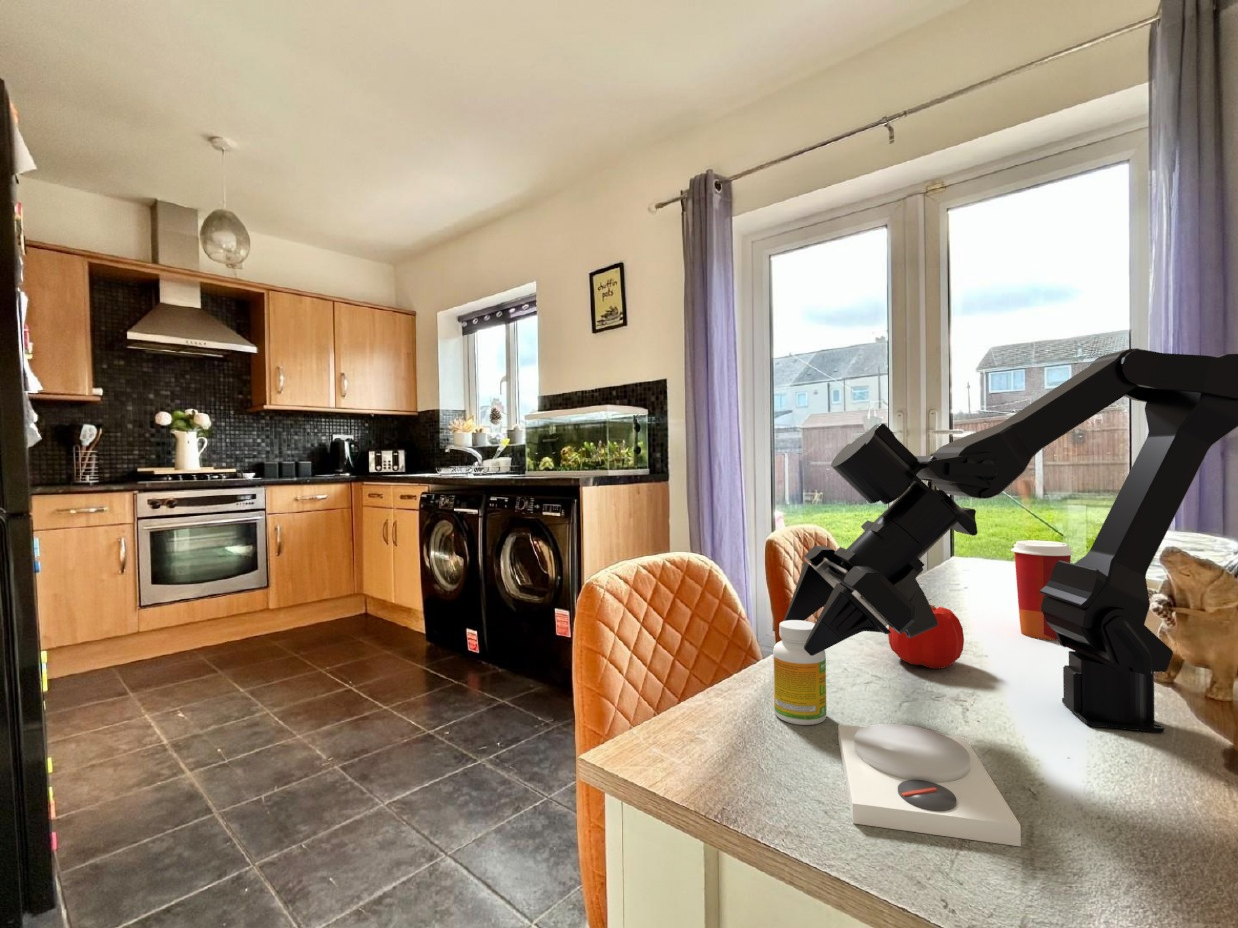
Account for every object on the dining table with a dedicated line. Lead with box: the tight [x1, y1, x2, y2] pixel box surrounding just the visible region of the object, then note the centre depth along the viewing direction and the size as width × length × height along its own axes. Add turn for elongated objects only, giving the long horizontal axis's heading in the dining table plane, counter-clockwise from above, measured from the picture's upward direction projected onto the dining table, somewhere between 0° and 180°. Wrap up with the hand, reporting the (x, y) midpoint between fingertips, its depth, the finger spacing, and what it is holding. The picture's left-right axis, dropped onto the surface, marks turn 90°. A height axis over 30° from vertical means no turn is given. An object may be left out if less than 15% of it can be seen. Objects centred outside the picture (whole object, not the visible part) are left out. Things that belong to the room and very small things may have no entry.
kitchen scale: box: [837, 723, 1022, 847], centre depth 51 cm, size 11×14×2 cm
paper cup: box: [1010, 539, 1074, 641], centre depth 93 cm, size 8×8×14 cm
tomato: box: [887, 604, 965, 670], centre depth 81 cm, size 9×9×8 cm
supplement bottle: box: [772, 620, 827, 726], centre depth 65 cm, size 5×5×10 cm
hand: (796, 638), depth 65 cm, fingers open, 9 cm apart
